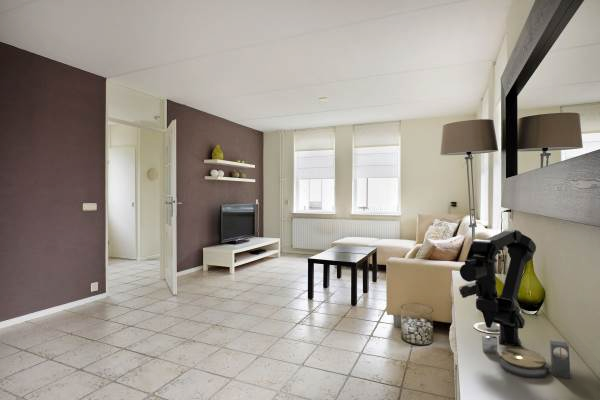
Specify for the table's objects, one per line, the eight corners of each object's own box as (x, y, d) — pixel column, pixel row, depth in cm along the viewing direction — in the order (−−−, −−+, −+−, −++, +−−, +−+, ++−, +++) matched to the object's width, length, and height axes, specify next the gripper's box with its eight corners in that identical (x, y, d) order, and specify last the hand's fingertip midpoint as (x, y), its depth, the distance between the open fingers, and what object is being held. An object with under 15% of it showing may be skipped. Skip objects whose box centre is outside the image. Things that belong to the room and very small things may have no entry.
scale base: (499, 356, 113) (498, 328, 113) (565, 365, 104) (563, 336, 105) (500, 373, 102) (498, 342, 102) (573, 385, 94) (571, 352, 94)
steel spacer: (482, 348, 120) (482, 333, 120) (497, 350, 118) (496, 335, 118) (482, 353, 116) (481, 338, 116) (497, 355, 114) (496, 340, 114)
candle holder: (478, 334, 132) (477, 323, 132) (470, 323, 144) (469, 313, 144) (513, 335, 129) (512, 324, 130) (502, 324, 141) (501, 314, 141)
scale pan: (501, 349, 112) (501, 346, 112) (543, 355, 107) (543, 352, 107) (502, 364, 102) (502, 360, 102) (548, 371, 97) (548, 368, 97)
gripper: (461, 270, 129) (464, 312, 129) (457, 281, 113) (460, 329, 113) (496, 271, 124) (498, 315, 123) (496, 283, 107) (499, 333, 107)
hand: (488, 322), depth 117 cm, fingers open, 9 cm apart
